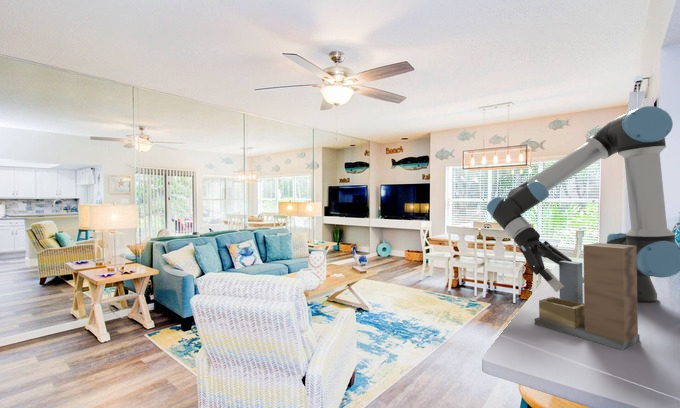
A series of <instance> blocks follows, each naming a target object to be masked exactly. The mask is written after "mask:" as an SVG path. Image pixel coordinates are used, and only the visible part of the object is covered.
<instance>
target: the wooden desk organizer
mask: <svg viewBox="0 0 680 408" xmlns="http://www.w3.org/2000/svg"><path fill="white" fill-rule="evenodd" d="M582 249H583V277H584V283H583V303H578V302H573V301H569V300H564V299H560V297H555V296H549V297H547V298H544V299H539V300H538V311H539V312H538V313H539V314H538V315H539V316H538V317H536V318H534V324H535V325H538V326H540V327H544V328H546V329H551V330H554V331H557V332H561V333H565V334H567V335H570V336H574V337H578V338H581V339H583V340H588V341H589V342H590V341H591V342H593V343H598V344H601V345H604V346H607V347H611V348H615V349H617V350H621V351H624V350H625V349H627V348H629V347H631V346H632V345H634V344H636V343H639V342H640V341H641V339H640V336H641V335H640V334H639V327H638V326H639V323H638V321H639V320H638V319H639V317H638V316H639V315H638V312H639V311H638V302H637V251H636V246H632V245H619V244H607V243H603V242H594V243H587V244H583V248H582Z"/></svg>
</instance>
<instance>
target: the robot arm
mask: <svg viewBox="0 0 680 408" xmlns="http://www.w3.org/2000/svg"><path fill="white" fill-rule="evenodd" d="M672 129H673V119H672V117H671V115H670V113H668V112H667V111H666V110H664V109H662V108H661V107H658V106H654V105H653V106H651V105H647V106H646V105H645V106H641V107H638V108H634V109H631V110H630V111H628V112H626V113H624V114H622V115H620V116H617V117H616V118H613V119H612V120H610V121H609V122H607V124H605V125H604V126H603V127H602V128H600V129H599V130H597V131H596V132H595V133H593V134H592V135H591V136H589V137H588V138H586V140H585V141H586V142H585V143H583V144H582V145H580V146H579V147H578V148H576V149H575V150H572V151H571V152H569V153H568V154H566V155H565V156H563V157H562V158H560V159H559V160H557V161H555V162H554V163H553V164H551V165H550V166H548V167H547V168H545V169H543V170H541V171H539V173H537V174H535V175H533V176H532V177H531V178H529V179H528V180H526V181H525V182H524V183H522V184H520V185H518V186H517V187H515V188H513V189H511V190H510V191H509V192H508V193H507V197H506V198H505V197H504V196H502V195H498V196H497V197H494V198H492V199H491V200H490V201H488V203H487V205H486V211H487V212H488V213H489V215H490V216H491V217H492V219H493V220H494V221H495V222H496V223H497V224H499V227H501V228H502V229H503V230H504V231H505V232H506V234H507V236H508V237H510V238H511V239H512V240H513V242H514V243H515V244H516V245H517V246H518V247H519V248H518V249H519V251H520V252H521V253H522V255H523V257H524V259H525V261H526V263H527V265H528V267H529V269H530V271H531V272H532V273H534V274H535V275H536V276H538V275H539V274H540V276H541V277H542V278H543V279H544V281H545V282H546V283H547V284H549V286H550V287H551V289H553V290H554V291H555V293H557V292H560V289H562V288H563V287H564V286H563V285H562V284H561V282H560V281H559V279H558V278H557V277H556V276H555V275H554V273H553V272H552V271H550V269H549V268H546V267H545V263H544V260H543V258H544V259H546V258H547V259H548V260H550V261H552V262H553V263H555V264H556V265H558V266H559V262H560V261H570V262H573V260H572V259H571V258H569V257H568V256H566V255H565V254H564V253H562V251H560V250H558V249H557V248H556V247H554V246H553V245H551V244H550V243H549V242H548V241H547V240H544V241H543V242H541V241H540V238H541V235H540V234H541V233H539V232H538V231H537V230H536V229H535V228H534V227H532V225H531V224H530V223H529V222H528V221H527V219H526V218H525V217H523V216H522V215H523V214H524V213H526V212H528V211H529V210H531V209H533V208H534V207H535V206H537V205H539V204H540V203H541V202H542V203H543V201H544V200H545V199H547V198H548V197H549V196H550V192H549V191H551V190H553V189H554V188H555V187H557V186H559V185H561V184H562V183H564V182H566V181H568V180H569V179H570V178H572V177H574V176H575V175H576V174H579V173H580V172H581V171H583V170H584V169H586V168H588V167H589V166H591V165H592V164H594V163H596V162H597V161H599V160H601V159H602V160H606V159H608V158H609V157H611V156H612V155H614V154H618V155H619V156H621V157H622V158H624V169H625V170H624V171H625V178H626V189H627V197H628V198H627V200H628V208H629V218H630V219H629V220H630V230H629V231H627V232H613V233H609V234H608V235H607V239H606V244H619V245H632V246H636V251H637V303H638V302H641V303H642V302H643V303H651V302H657V301H658V293H657V290H656V287H655V285H654V284H653V283H654V282H653V281H652V279H651V277H652V278H653V277H654V278H660V279H661V278H669V277H670V278H671V277H672V276H675V275H677V274H678V273H680V245H678V244H677V243H676V235H675V232H673V231H671V230H670V229H669V228H668V225H667V223H668V222H667V215H666V204H665V203H666V202H665V193H664V185H663V184H664V183H663V173H662V164H661V163H662V162H661V155H660V154H661V152H662V151H664V149H665V148H667V145H666V137H667V136H668V135H669V134H670V133H671V131H672ZM582 282H583V284H584V275H582Z"/></svg>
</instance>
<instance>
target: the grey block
mask: <svg viewBox="0 0 680 408" xmlns="http://www.w3.org/2000/svg"><path fill="white" fill-rule="evenodd" d="M558 270H559V271H558V272H559V274H558V275H559V277H558V278H559V279H558V280H559V281H560V282H561V284H562V285H563V286H564V287H563V288H562V289H560V290H559V298H560V299H564V300H569V301H573V302H578V303H583V304H584V283H583V282H582V276H583V262H578V261H572V262H570V261H560V262H559V265H558Z"/></svg>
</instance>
